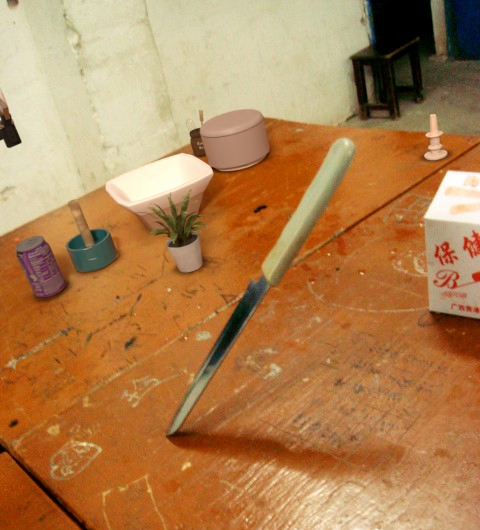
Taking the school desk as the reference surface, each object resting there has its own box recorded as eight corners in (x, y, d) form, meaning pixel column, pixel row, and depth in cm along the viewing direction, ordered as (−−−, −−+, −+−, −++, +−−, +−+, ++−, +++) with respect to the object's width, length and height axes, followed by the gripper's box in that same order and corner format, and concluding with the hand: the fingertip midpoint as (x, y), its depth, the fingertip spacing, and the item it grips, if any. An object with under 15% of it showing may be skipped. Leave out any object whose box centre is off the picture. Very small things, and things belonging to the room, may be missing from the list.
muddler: (93, 265, 144) (69, 206, 136) (86, 261, 146) (61, 203, 138) (107, 257, 145) (83, 199, 138) (99, 254, 148) (75, 196, 140)
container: (284, 148, 180) (275, 107, 174) (243, 175, 170) (233, 132, 164) (236, 146, 191) (227, 107, 185) (196, 171, 181) (185, 131, 175)
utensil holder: (190, 155, 194) (178, 117, 188) (205, 147, 197) (194, 109, 191) (202, 157, 190) (191, 118, 184) (217, 149, 193) (207, 110, 187)
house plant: (158, 295, 126) (131, 221, 117) (148, 266, 138) (123, 197, 129) (226, 271, 128) (204, 196, 119) (210, 245, 139) (189, 175, 131)
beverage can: (44, 284, 143) (22, 236, 137) (72, 280, 141) (51, 232, 135) (30, 301, 137) (6, 253, 131) (59, 298, 135) (36, 249, 129)
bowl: (139, 251, 145) (123, 209, 140) (113, 220, 165) (98, 182, 160) (232, 213, 151) (220, 171, 145) (195, 187, 171) (184, 149, 165)
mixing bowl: (89, 278, 140) (79, 254, 137) (67, 267, 147) (57, 245, 144) (126, 256, 145) (118, 233, 142) (104, 247, 152) (95, 225, 149)
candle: (437, 149, 153) (434, 106, 148) (452, 154, 149) (449, 110, 143) (419, 157, 152) (416, 114, 146) (433, 162, 148) (430, 118, 142)
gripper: (-62, 65, 130) (-25, 146, 139) (-35, 65, 118) (4, 154, 127) (-28, 53, 133) (7, 133, 142) (2, 52, 121) (38, 140, 130)
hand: (6, 143), depth 134 cm, fingers open, 9 cm apart
